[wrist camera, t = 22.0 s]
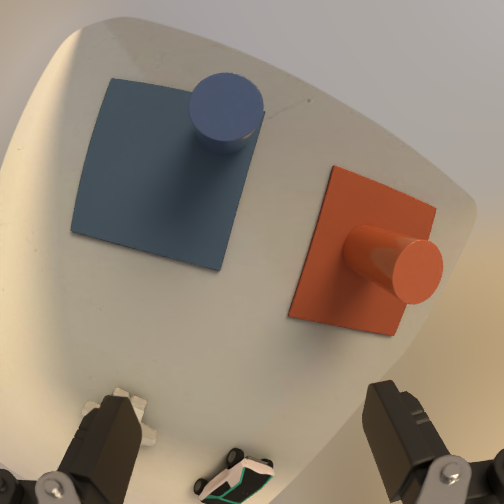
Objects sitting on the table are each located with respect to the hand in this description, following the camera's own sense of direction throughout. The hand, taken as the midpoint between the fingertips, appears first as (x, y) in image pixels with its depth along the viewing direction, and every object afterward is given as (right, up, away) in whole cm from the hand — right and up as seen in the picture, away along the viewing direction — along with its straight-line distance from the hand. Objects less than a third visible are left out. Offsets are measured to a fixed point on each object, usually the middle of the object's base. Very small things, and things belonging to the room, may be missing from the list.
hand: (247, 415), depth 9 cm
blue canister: (-3, +17, +19) cm, 25 cm away
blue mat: (-8, +13, +19) cm, 25 cm away
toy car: (-3, -26, +27) cm, 38 cm away
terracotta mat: (+13, +5, +23) cm, 27 cm away
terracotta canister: (+12, +6, +22) cm, 26 cm away
